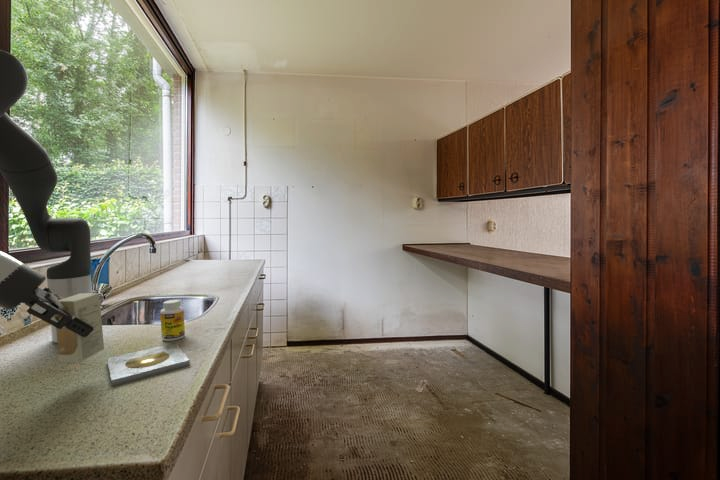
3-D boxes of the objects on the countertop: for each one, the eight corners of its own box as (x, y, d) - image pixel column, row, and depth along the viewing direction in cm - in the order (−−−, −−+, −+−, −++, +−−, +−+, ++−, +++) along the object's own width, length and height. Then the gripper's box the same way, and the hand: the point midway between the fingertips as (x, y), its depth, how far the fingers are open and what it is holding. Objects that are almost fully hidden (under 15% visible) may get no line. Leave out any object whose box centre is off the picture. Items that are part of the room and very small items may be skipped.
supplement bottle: (162, 343, 89) (160, 305, 88) (161, 337, 94) (159, 300, 93) (186, 338, 92) (184, 301, 91) (183, 333, 97) (181, 297, 96)
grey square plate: (107, 363, 77) (107, 357, 77) (176, 347, 86) (175, 342, 86) (111, 386, 66) (111, 380, 66) (189, 365, 75) (189, 359, 75)
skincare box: (85, 349, 72) (80, 292, 71) (105, 349, 71) (101, 292, 70) (57, 363, 65) (51, 300, 64) (78, 363, 65) (73, 300, 64)
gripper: (15, 267, 56) (107, 320, 65) (26, 258, 67) (103, 305, 76) (-30, 304, 53) (73, 355, 62) (-11, 288, 65) (74, 333, 73)
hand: (89, 327), depth 69 cm, fingers closed on skincare box, 7 cm apart
